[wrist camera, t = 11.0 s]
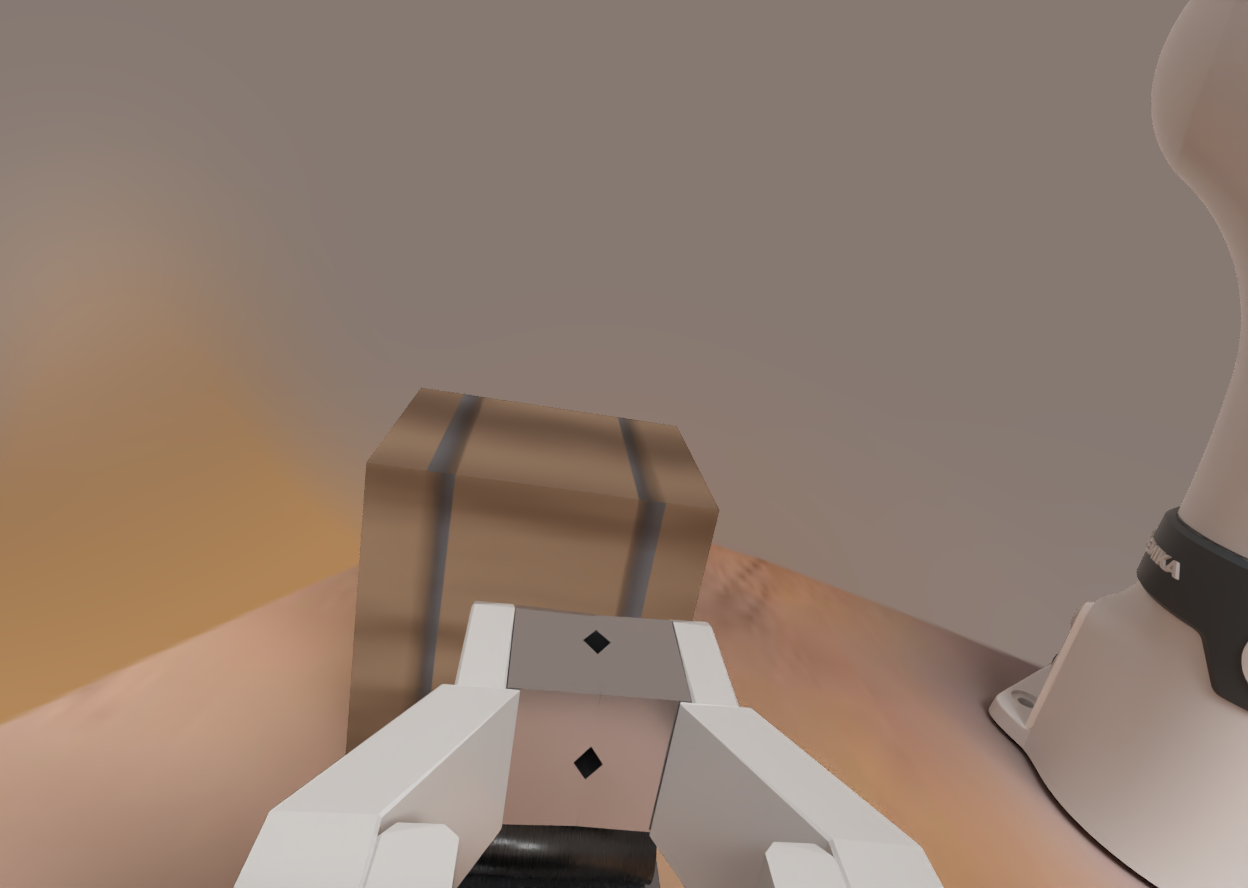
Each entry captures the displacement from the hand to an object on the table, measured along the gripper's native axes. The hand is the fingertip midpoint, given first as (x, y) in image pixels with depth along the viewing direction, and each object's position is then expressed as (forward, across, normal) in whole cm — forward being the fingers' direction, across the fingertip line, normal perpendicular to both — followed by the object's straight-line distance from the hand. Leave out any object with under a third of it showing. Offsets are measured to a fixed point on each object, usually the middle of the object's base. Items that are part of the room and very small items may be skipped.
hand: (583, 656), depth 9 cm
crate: (+15, +1, +15) cm, 21 cm away
